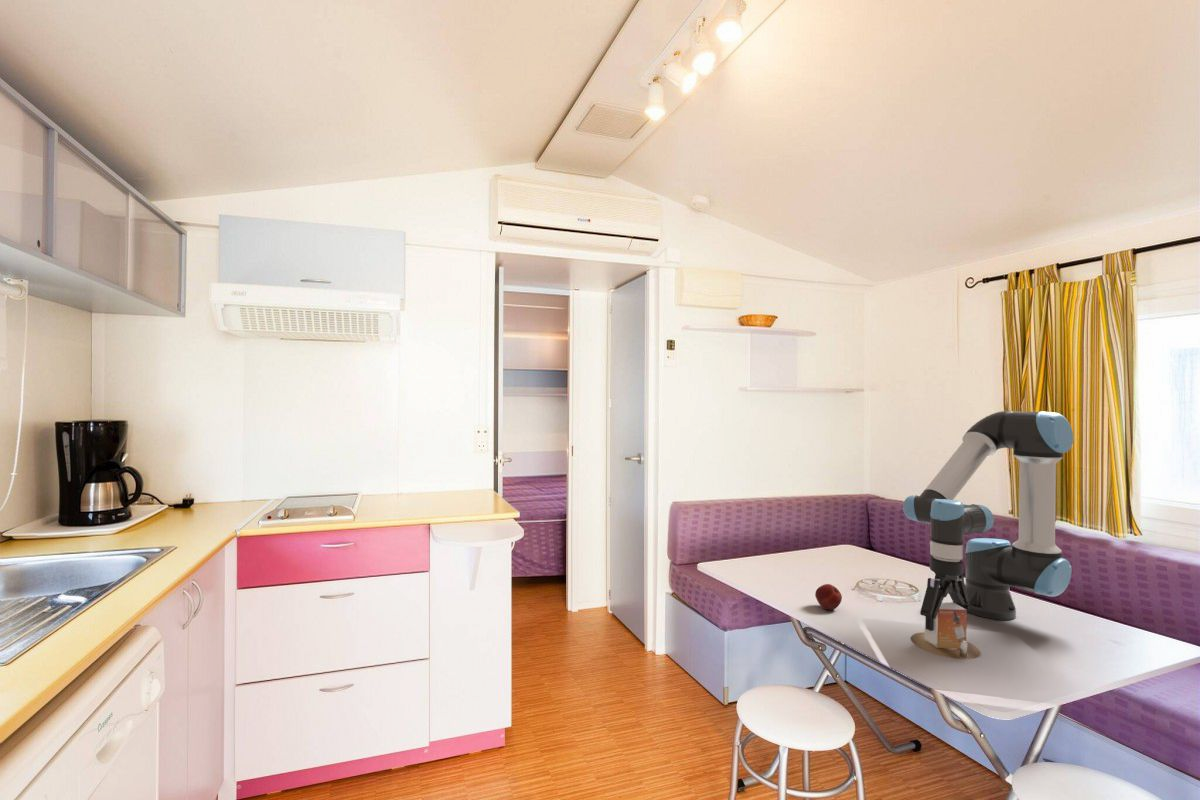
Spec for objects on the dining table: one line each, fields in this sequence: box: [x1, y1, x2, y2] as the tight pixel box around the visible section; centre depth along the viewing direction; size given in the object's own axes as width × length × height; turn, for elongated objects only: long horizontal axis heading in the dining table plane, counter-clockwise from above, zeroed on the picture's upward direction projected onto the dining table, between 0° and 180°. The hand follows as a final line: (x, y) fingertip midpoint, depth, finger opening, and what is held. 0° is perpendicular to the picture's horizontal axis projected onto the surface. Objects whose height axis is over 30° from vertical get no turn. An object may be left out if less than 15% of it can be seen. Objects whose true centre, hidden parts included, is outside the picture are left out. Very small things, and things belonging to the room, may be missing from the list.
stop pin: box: [960, 639, 968, 658], centre depth 141 cm, size 2×2×4 cm
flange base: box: [910, 631, 982, 660], centre depth 148 cm, size 16×16×2 cm
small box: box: [924, 601, 968, 649], centre depth 148 cm, size 8×6×10 cm
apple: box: [815, 583, 843, 611], centre depth 176 cm, size 7×8×8 cm
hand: (944, 636), depth 148 cm, fingers open, 13 cm apart
